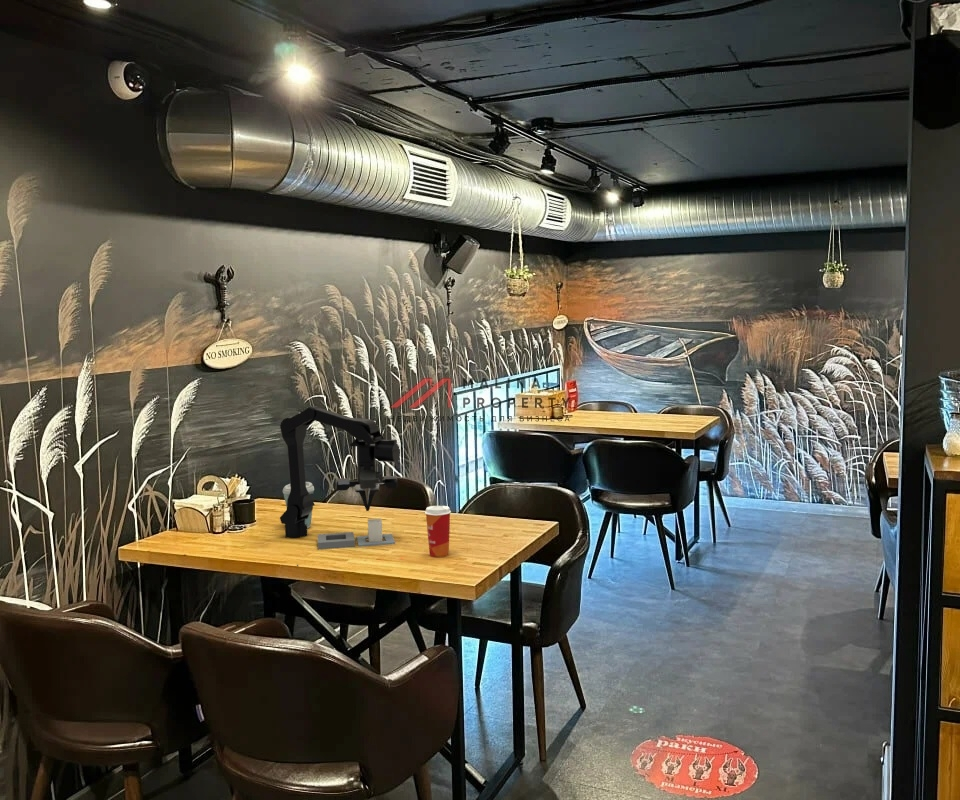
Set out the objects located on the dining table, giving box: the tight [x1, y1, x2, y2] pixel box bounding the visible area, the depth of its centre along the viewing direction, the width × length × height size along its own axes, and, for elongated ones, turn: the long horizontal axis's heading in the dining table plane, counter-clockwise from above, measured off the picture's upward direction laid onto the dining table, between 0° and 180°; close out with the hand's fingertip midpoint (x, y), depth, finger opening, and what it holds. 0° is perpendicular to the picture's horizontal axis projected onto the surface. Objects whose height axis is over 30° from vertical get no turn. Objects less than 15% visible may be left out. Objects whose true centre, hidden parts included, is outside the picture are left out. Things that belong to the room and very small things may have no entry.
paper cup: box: [424, 505, 452, 558], centre depth 247 cm, size 8×8×14 cm
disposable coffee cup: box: [282, 481, 315, 529], centre depth 286 cm, size 11×11×15 cm
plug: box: [367, 518, 383, 542], centre depth 260 cm, size 4×4×8 cm
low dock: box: [356, 533, 396, 548], centre depth 260 cm, size 11×11×2 cm
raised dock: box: [317, 531, 356, 551], centre depth 258 cm, size 11×11×4 cm
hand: (367, 510), depth 260 cm, fingers closed
